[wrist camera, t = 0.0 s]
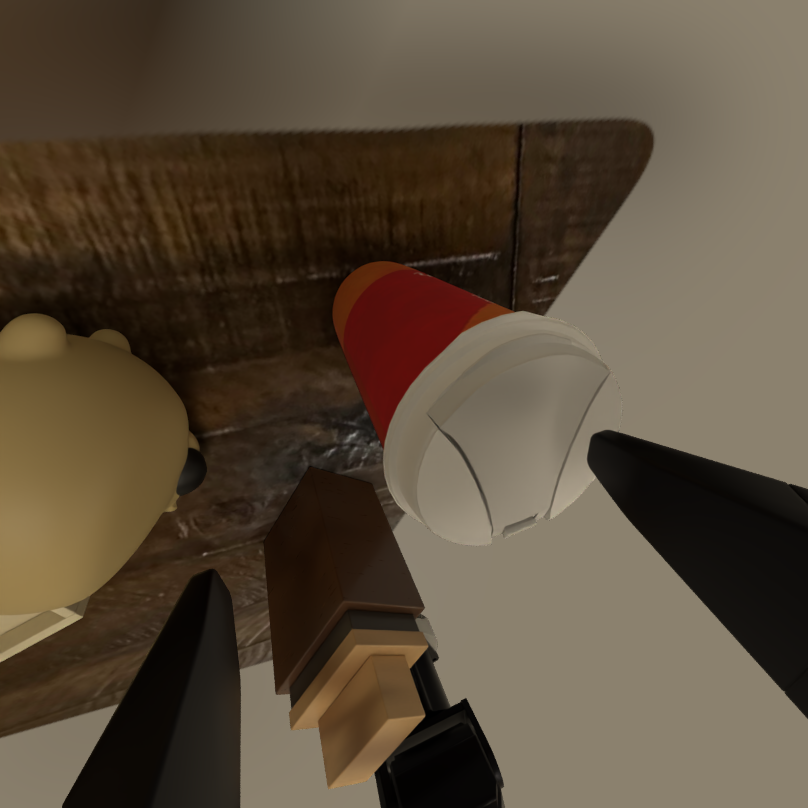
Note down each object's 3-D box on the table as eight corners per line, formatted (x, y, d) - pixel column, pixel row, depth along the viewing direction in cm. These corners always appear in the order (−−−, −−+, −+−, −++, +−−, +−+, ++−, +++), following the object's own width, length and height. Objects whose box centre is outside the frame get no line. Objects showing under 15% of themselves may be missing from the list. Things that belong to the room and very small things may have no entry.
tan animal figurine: (21, 401, 22) (63, 596, 21) (-358, 317, 10) (-317, 758, 9) (206, 352, 24) (256, 529, 22) (65, 232, 12) (151, 589, 11)
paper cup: (447, 354, 26) (614, 507, 14) (329, 388, 24) (415, 591, 13) (437, 223, 21) (666, 294, 10) (293, 252, 20) (375, 379, 8)
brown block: (326, 552, 31) (358, 690, 23) (263, 542, 28) (275, 695, 20) (372, 483, 29) (425, 608, 21) (309, 466, 26) (343, 601, 18)
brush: (356, 686, 22) (379, 785, 19) (286, 690, 20) (297, 802, 17) (415, 612, 21) (453, 705, 17) (346, 607, 19) (373, 713, 15)
